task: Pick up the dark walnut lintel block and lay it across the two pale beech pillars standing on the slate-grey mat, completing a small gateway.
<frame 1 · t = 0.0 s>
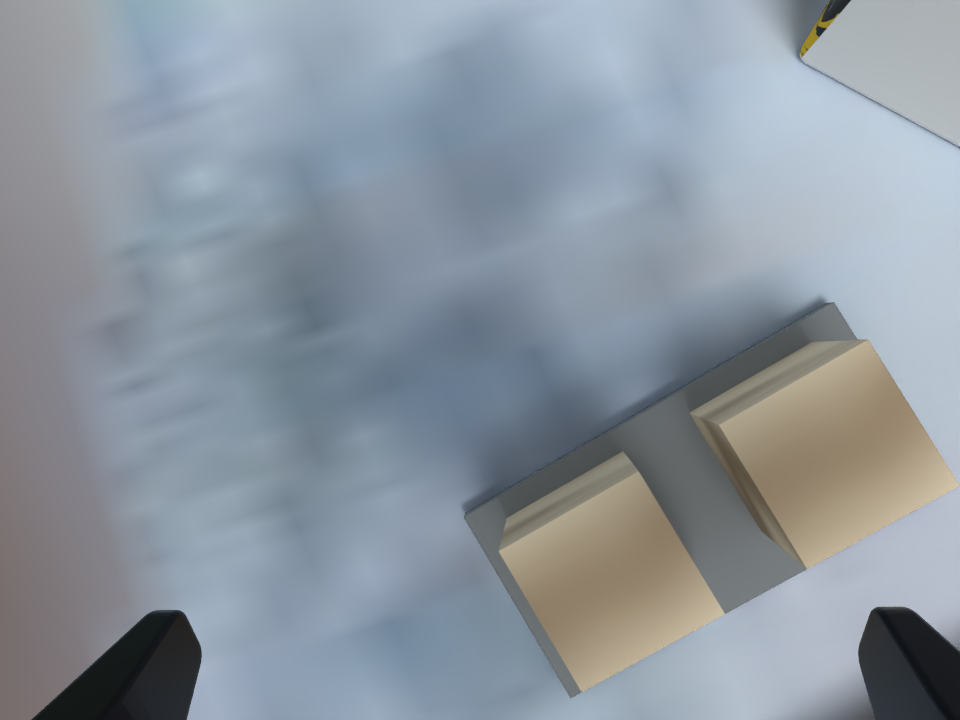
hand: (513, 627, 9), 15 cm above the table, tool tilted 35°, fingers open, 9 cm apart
medicine bottle: (944, 20, 23), on the table
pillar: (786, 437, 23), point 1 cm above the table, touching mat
mat: (695, 500, 24), on the table
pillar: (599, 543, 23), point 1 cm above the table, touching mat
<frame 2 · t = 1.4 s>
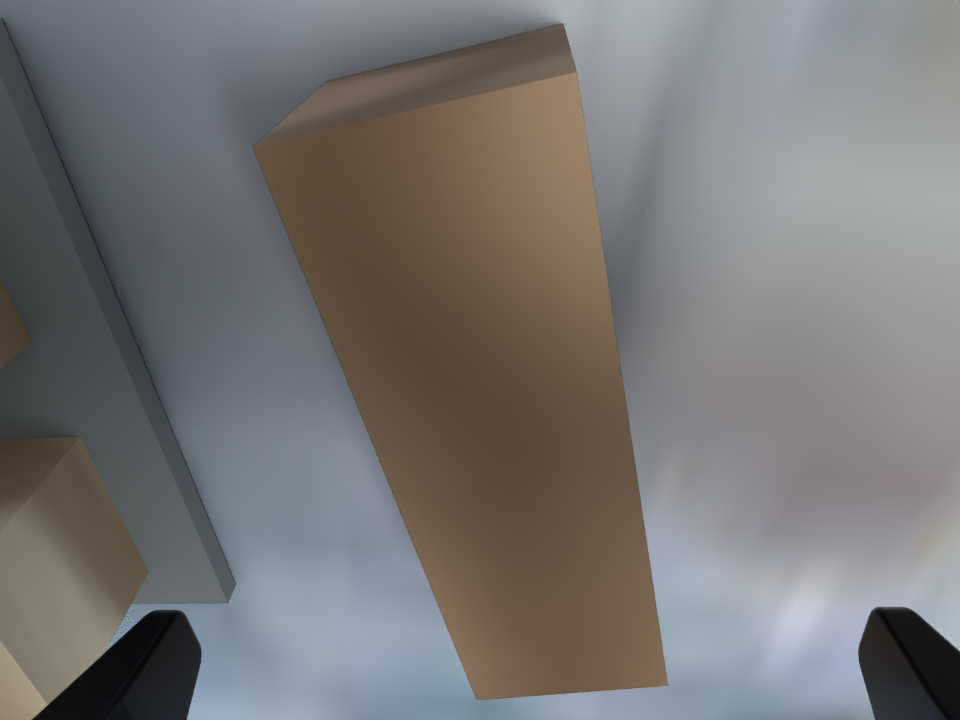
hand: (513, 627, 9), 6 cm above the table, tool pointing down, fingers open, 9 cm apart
lintel: (515, 350, 15), on the table
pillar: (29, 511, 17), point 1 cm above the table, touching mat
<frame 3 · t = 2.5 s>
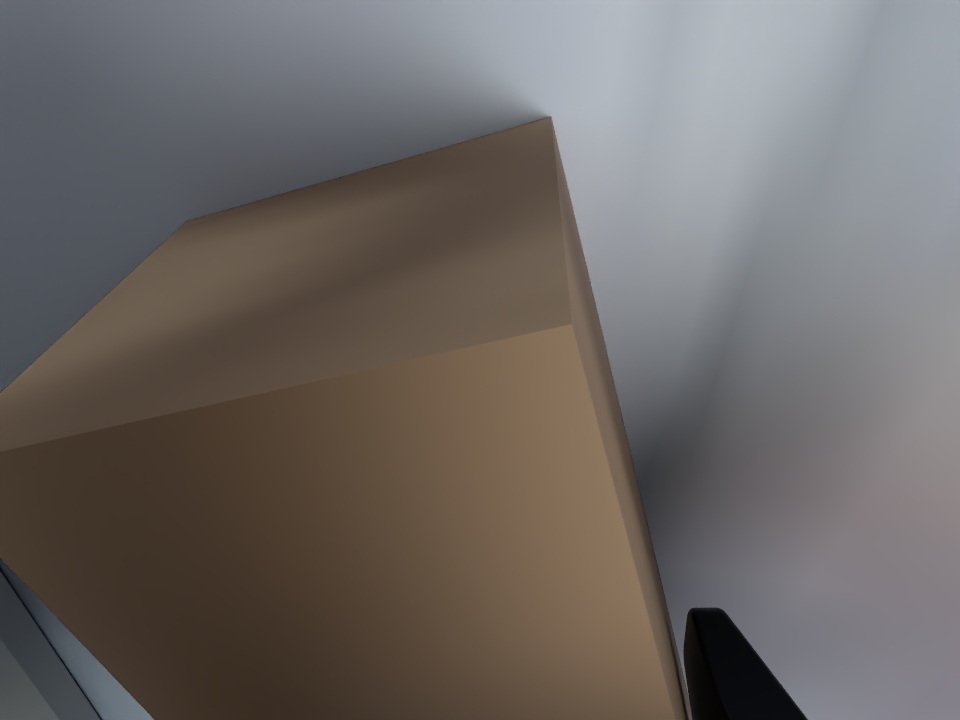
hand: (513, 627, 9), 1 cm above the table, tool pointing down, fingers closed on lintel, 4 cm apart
lintel: (513, 560, 10), on the table, touching gripper
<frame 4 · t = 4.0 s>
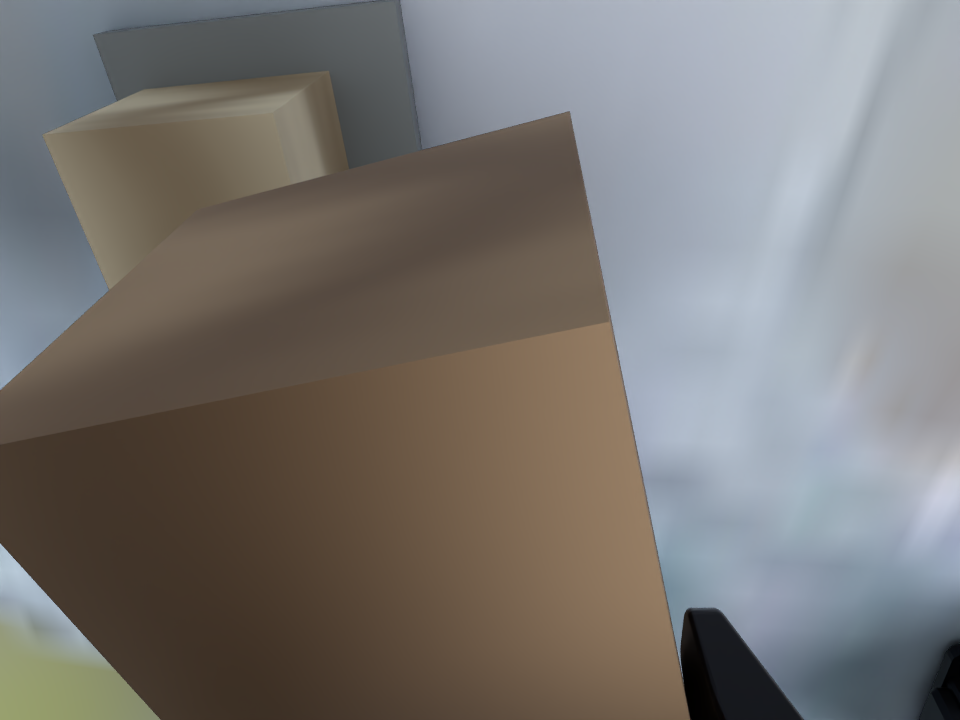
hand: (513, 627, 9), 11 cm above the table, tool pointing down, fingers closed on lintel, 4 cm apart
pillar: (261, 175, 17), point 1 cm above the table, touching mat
mat: (318, 289, 20), on the table
lintel: (515, 560, 10), point 10 cm above the table, touching gripper
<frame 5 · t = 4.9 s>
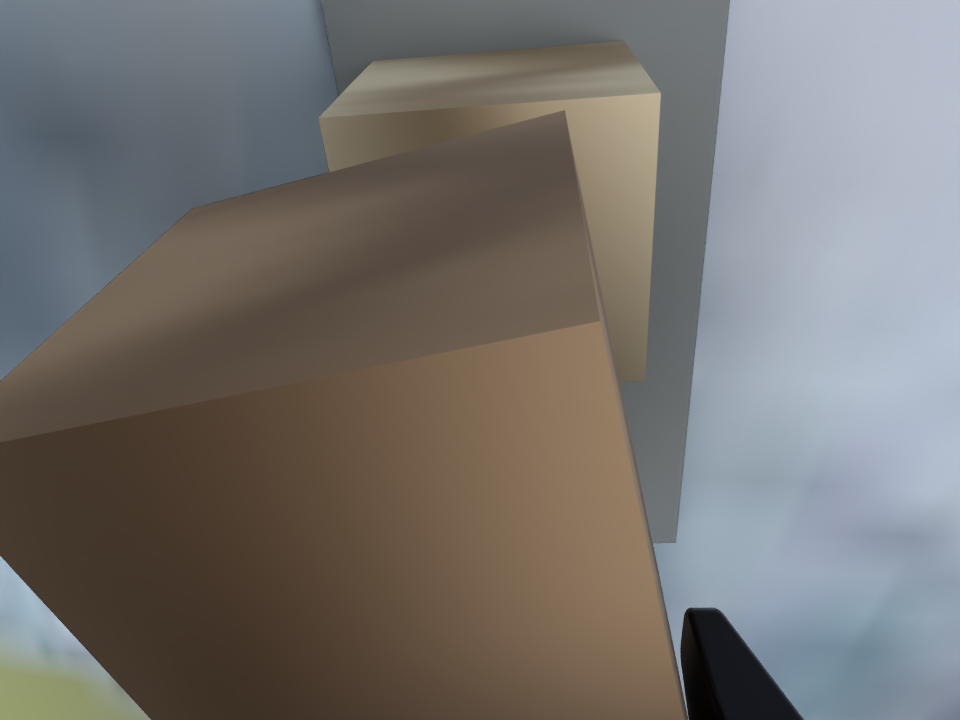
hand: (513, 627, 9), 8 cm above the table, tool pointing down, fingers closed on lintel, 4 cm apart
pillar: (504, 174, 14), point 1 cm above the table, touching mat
mat: (536, 313, 16), on the table
lintel: (512, 561, 10), point 7 cm above the table, touching gripper
when the fingers open (7 cm above the table, at t = 5.5 s): lintel drops 1 cm, resting on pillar, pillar.
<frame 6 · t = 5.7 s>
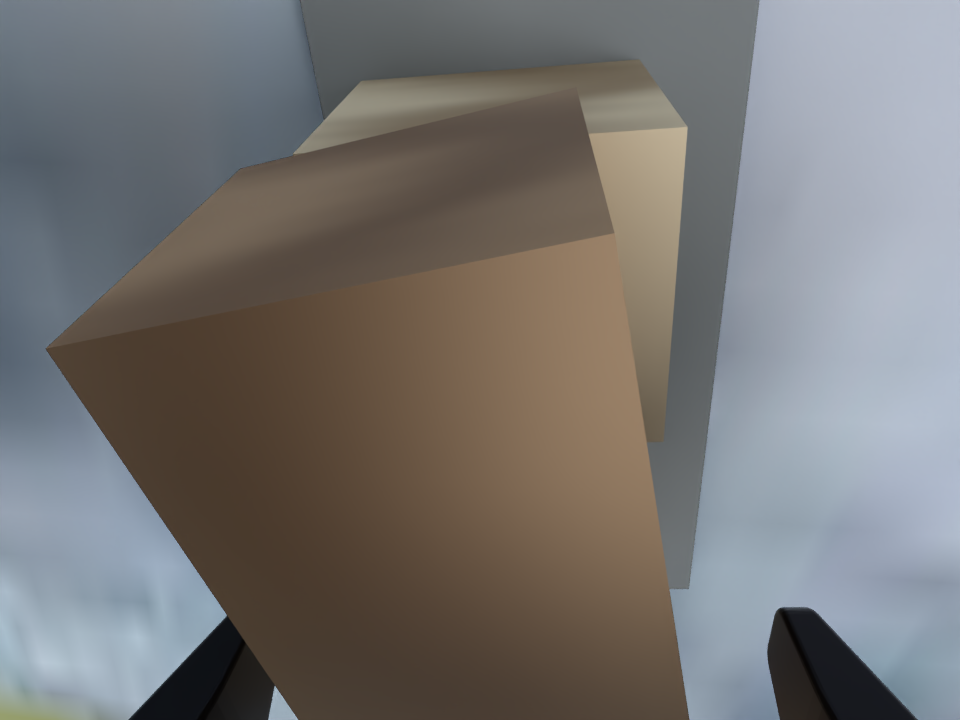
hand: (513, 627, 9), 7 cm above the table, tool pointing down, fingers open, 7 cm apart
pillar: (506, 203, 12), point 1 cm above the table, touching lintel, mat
mat: (540, 350, 15), on the table
lintel: (514, 506, 11), point 5 cm above the table, touching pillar, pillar
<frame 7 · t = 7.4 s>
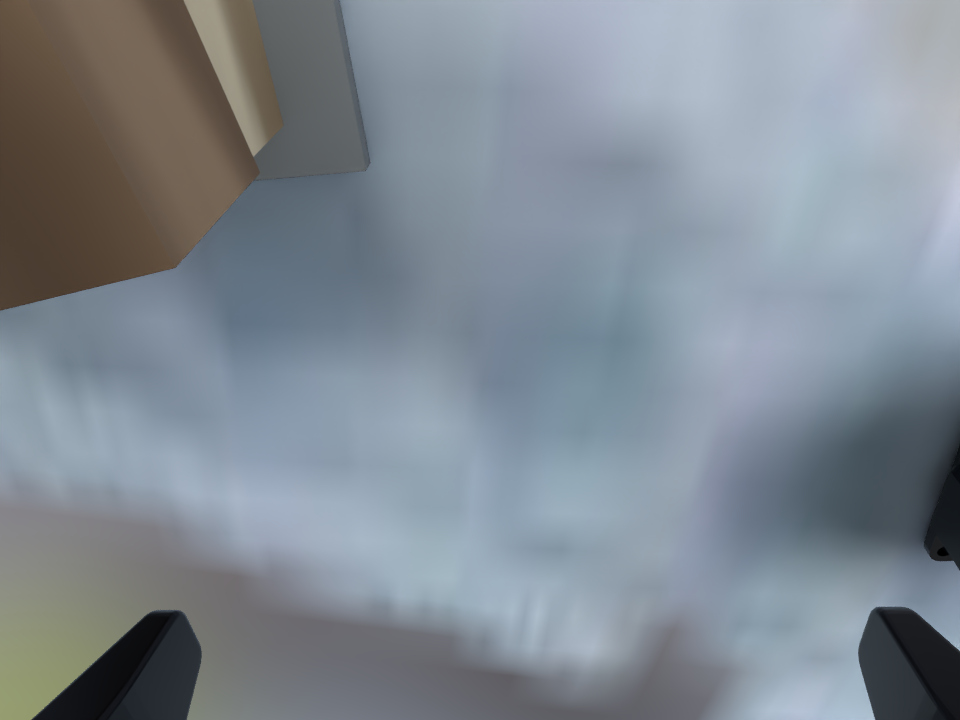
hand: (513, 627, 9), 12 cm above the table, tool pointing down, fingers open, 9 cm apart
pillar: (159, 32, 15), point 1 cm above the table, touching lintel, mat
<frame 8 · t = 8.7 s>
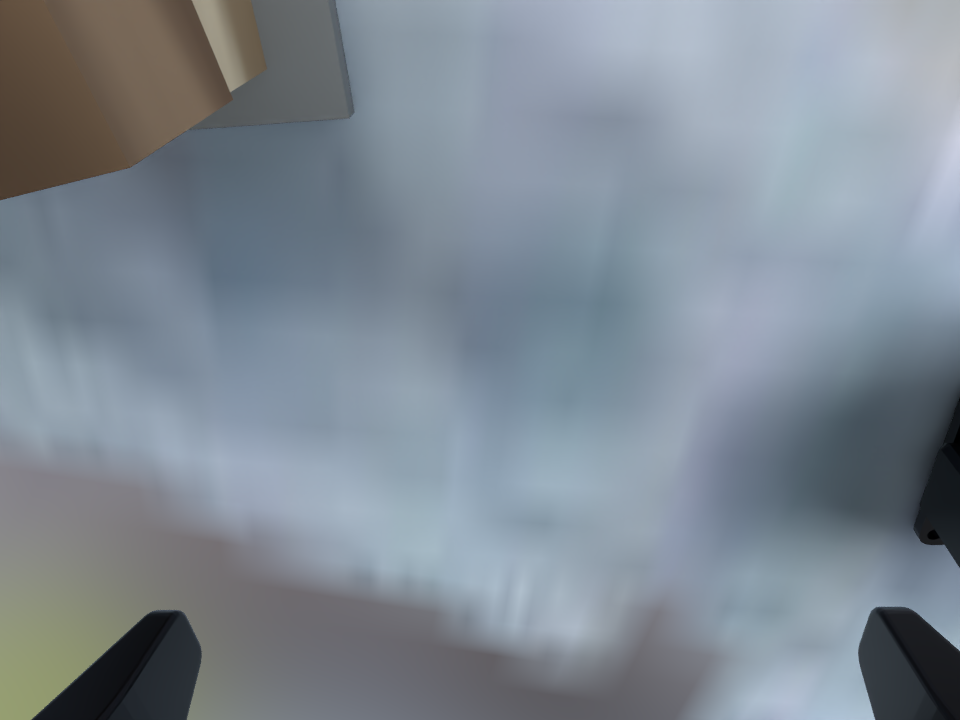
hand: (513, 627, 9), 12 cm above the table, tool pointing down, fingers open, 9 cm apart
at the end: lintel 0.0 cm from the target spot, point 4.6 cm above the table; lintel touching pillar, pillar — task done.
